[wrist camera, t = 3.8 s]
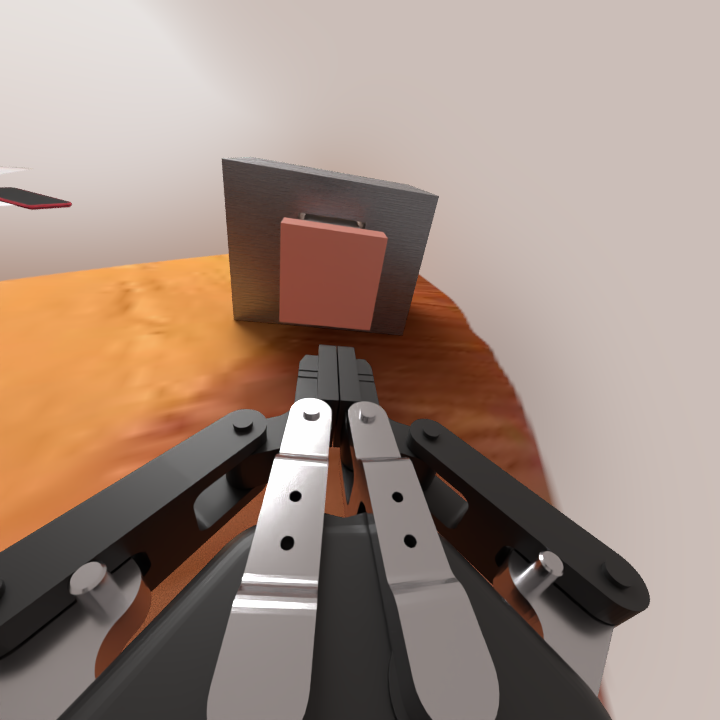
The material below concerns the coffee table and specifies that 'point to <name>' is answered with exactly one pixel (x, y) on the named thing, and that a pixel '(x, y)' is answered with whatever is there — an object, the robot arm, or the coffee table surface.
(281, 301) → the plug
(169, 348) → the coffee table surface
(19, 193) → the smartphone
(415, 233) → the block
